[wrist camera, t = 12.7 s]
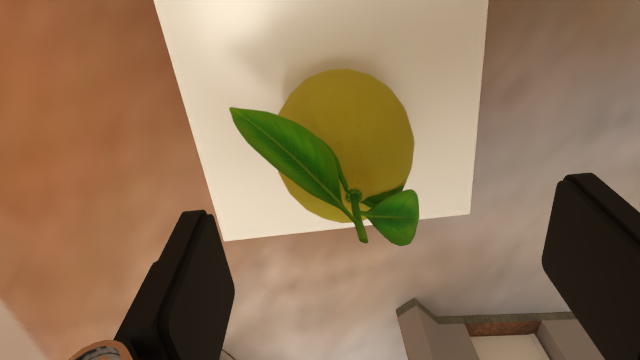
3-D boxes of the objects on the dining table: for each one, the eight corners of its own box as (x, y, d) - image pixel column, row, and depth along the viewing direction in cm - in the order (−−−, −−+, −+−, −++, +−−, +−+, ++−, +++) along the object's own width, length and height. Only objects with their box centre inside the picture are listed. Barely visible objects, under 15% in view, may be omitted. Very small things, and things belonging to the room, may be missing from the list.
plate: (483, -77, 17) (495, -78, 16) (462, 202, 24) (469, 213, 23) (153, -34, 17) (144, -33, 16) (227, 228, 24) (224, 241, 23)
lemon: (252, 53, 18) (208, 156, 10) (383, 22, 18) (459, 101, 9) (290, 179, 22) (282, 340, 13) (401, 156, 21) (468, 306, 13)
